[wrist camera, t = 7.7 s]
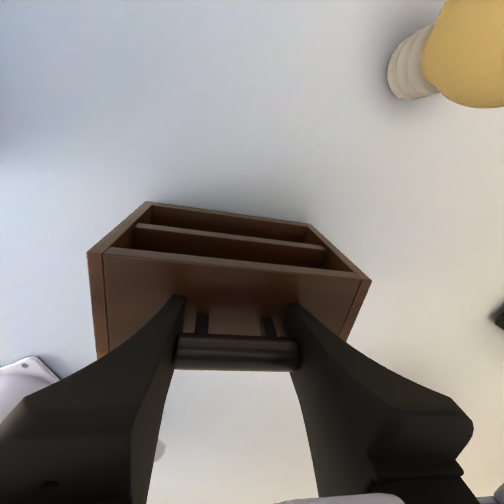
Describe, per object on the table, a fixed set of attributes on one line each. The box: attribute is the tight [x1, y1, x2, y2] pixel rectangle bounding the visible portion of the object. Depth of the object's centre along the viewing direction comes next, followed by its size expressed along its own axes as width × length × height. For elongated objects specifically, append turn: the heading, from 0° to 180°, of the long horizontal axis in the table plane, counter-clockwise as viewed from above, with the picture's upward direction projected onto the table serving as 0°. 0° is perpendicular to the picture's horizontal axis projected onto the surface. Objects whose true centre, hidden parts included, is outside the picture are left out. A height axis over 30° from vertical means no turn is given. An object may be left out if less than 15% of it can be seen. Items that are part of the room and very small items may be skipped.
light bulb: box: [387, 0, 504, 108], centre depth 13 cm, size 6×6×10 cm
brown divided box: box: [86, 201, 372, 372], centre depth 15 cm, size 12×13×6 cm
